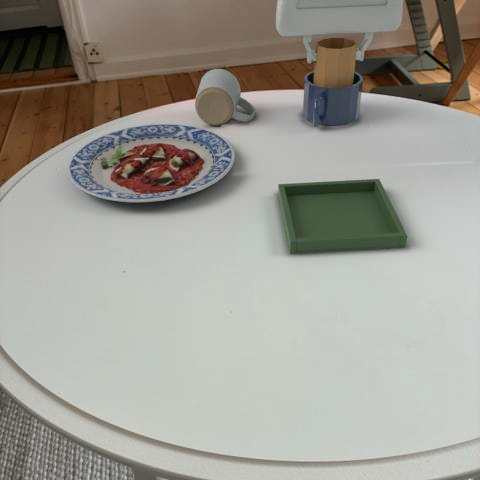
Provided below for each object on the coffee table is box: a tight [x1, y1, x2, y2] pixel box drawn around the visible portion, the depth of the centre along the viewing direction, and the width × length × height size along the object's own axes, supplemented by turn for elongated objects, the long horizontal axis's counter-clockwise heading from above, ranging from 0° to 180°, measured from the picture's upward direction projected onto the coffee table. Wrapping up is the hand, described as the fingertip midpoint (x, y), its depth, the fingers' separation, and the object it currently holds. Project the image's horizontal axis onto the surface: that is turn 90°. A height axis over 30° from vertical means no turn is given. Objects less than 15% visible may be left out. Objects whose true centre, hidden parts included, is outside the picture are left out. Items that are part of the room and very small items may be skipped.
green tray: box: [277, 178, 408, 255], centre depth 73 cm, size 15×15×2 cm
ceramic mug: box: [194, 68, 257, 127], centre depth 97 cm, size 11×8×8 cm
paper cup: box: [313, 36, 358, 88], centre depth 94 cm, size 7×7×12 cm
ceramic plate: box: [67, 123, 236, 203], centre depth 84 cm, size 26×26×3 cm
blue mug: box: [302, 70, 364, 128], centre depth 95 cm, size 13×10×7 cm
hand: (334, 61), depth 92 cm, fingers closed on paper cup, 6 cm apart
